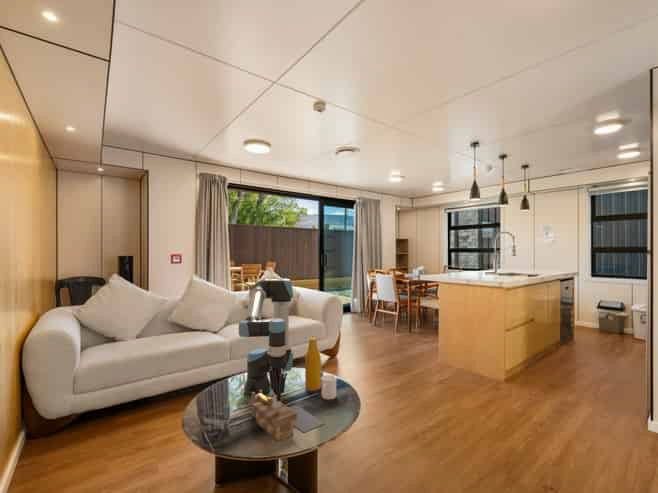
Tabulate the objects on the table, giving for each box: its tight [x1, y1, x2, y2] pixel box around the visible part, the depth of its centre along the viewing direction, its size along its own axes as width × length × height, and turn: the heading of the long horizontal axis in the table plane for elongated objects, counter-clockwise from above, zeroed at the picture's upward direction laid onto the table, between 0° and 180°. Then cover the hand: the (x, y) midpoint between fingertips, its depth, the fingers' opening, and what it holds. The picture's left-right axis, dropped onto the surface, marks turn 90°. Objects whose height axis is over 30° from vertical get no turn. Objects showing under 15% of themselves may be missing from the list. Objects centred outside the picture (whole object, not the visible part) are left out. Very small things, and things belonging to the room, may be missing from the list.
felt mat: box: [288, 404, 325, 434], centre depth 154 cm, size 24×12×1 cm, turn 39°
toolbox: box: [251, 390, 294, 442], centre depth 148 cm, size 28×8×11 cm, turn 39°
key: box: [257, 393, 272, 405], centre depth 152 cm, size 11×2×3 cm, turn 39°
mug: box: [320, 374, 337, 401], centre depth 176 cm, size 12×8×10 cm
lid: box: [253, 396, 297, 428], centre depth 145 cm, size 21×11×4 cm, turn 39°
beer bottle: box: [304, 337, 322, 392], centre depth 189 cm, size 9×9×29 cm
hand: (277, 407), depth 143 cm, fingers closed
